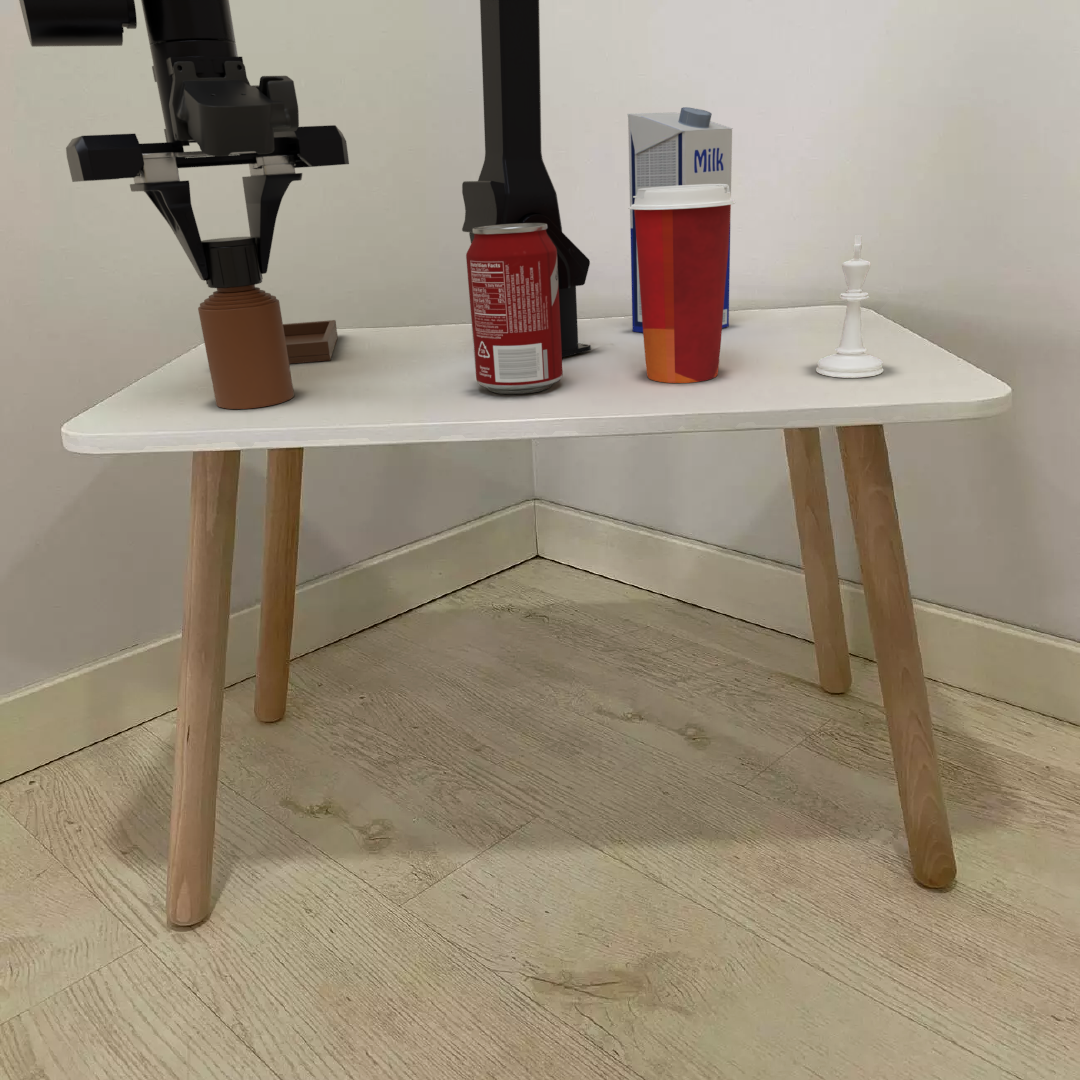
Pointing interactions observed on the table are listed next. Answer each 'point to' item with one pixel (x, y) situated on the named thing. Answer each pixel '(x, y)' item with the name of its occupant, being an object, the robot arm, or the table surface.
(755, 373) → the table surface
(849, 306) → the chess piece
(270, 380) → the bottle
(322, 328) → the tray
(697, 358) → the paper cup
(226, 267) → the cap
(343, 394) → the table surface
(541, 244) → the soda can
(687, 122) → the milk carton
